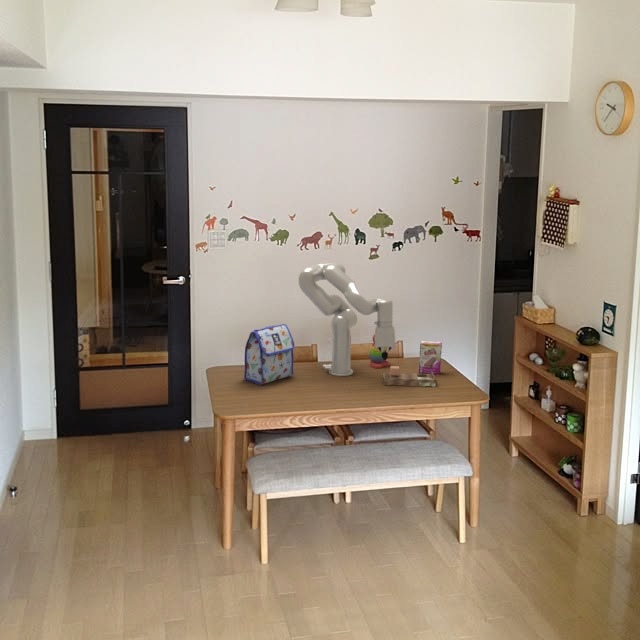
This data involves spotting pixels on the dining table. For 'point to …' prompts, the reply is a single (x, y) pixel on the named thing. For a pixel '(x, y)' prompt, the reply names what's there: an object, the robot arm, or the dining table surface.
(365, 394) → the dining table surface
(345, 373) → the robot arm
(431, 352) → the candy bar box
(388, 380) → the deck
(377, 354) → the stacking bear
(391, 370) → the block
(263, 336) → the lunch bag
